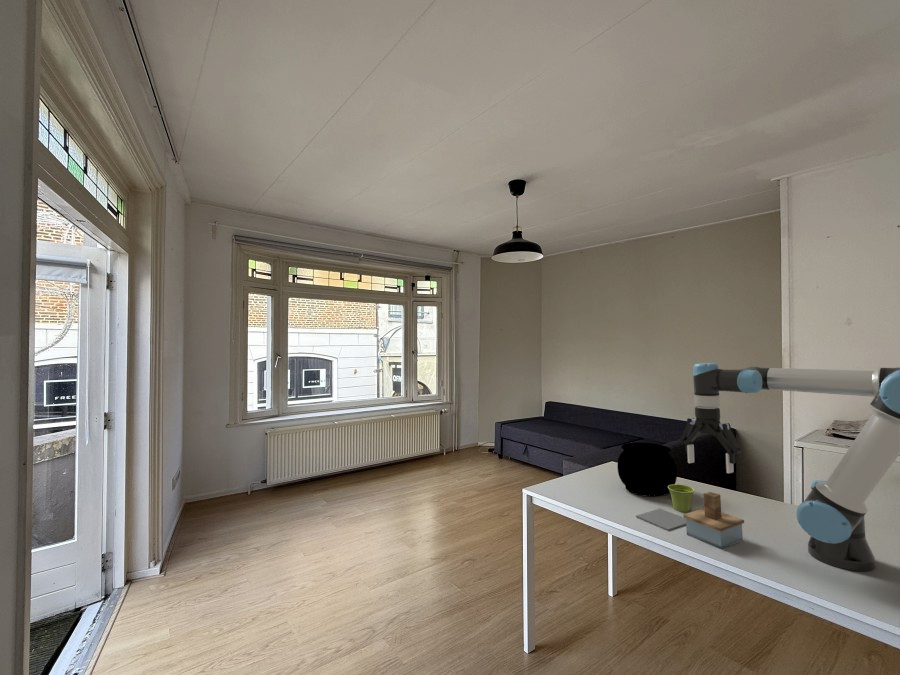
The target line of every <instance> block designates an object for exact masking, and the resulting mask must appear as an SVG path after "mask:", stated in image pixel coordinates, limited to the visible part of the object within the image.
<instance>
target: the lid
mask: <svg viewBox="0 0 900 675" xmlns="http://www.w3.org/2000/svg"><path fill="white" fill-rule="evenodd" d="M721 497H722V496H721V494H719V493H715V492H711V491H708V492H703V504H704V506H703V508H700V509H697V510H694V511H691V512H690V511H689V512H686V513H685V514H683V516H682V517H684V518H686V519H689V520H692V521H694V522H697V523H700V524H702V525H705V526H707V527H710V528H713V529H715V530H718V531H724V530H727V529H730V528H732V527H735V526H738V525H740V524H742V525H743V524H745V520H744V519H742V518H739V517H737V516H733V515H730V514H727V513H724V512H722V500H721Z"/></svg>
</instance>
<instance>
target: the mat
mask: <svg viewBox="0 0 900 675" xmlns="http://www.w3.org/2000/svg"><path fill="white" fill-rule="evenodd" d="M635 518H636V519H639V520H642V521H644V522H646V523H649V524H651V525H653V526H656V527H659V528H660V529H663V530H664V531H667V532H669V531H673V530H675V529H679V528H681V527H684V526H686V518H684V516H681V515H678V514H675V513H673V512H671V511H667V510H665V509H662V508H656V509H654V510H651V511H646V512H644V513H640V514H637V515H635Z"/></svg>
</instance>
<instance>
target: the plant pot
mask: <svg viewBox="0 0 900 675" xmlns="http://www.w3.org/2000/svg"><path fill="white" fill-rule="evenodd" d="M668 489H669V491H670V493H669V494H670V496H671V503H672V508H673V510H675V511H679V512H681V513H689V512H690V511H691V508H692V501H693V500H692V497H693V495H694V493H695V489H694V488H693V487H691V486H689V485H686V484H677V483H675V484H673V485H669V486H668Z"/></svg>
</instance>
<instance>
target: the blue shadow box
mask: <svg viewBox="0 0 900 675" xmlns="http://www.w3.org/2000/svg"><path fill="white" fill-rule="evenodd" d="M685 526H686V535H687V536H690V537H691V538H694V539H697V540H698V541H701V542H704V543H706V544H708V545H710V546H713V547H715V548H718V549H721V550H722V549H725V548H727V547H730V546H733V545H734V544H737V543H739V542H740V543H741V542H742V541H743V539H744V537H743V524H740V525H738V526H735V527H732V528H730V529H727V530H724V531H718V530H715V529H713V528H710V527H707V526H705V525H702V524H700V523H697V522H694V521H692V520H689V519H686V525H685Z"/></svg>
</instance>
